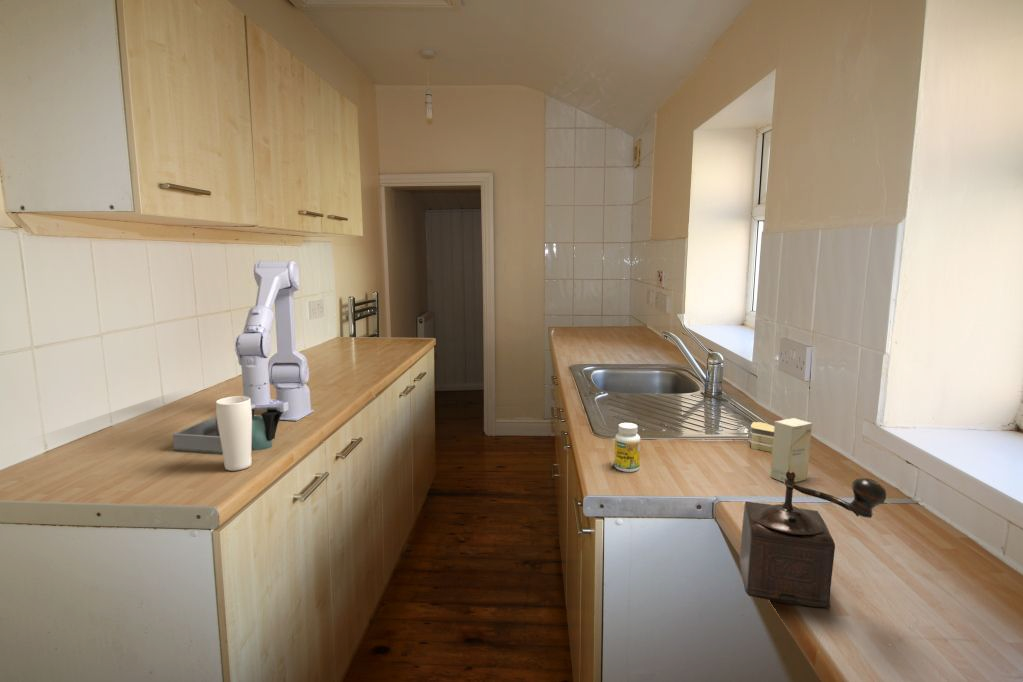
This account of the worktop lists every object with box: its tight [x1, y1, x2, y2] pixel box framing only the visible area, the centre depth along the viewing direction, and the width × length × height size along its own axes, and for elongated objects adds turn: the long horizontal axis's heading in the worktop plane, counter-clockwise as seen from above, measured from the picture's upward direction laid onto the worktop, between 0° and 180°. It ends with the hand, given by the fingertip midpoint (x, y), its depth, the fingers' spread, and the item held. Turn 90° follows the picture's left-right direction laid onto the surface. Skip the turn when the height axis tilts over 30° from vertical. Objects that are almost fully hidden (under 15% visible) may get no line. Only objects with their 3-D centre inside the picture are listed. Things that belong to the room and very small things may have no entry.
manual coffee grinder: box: [739, 471, 887, 608], centre depth 76 cm, size 16×11×18 cm
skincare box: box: [770, 417, 813, 483], centre depth 114 cm, size 6×4×12 cm
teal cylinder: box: [252, 414, 273, 451], centre depth 131 cm, size 5×5×7 cm
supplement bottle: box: [614, 422, 641, 473], centre depth 119 cm, size 5×5×10 cm
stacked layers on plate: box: [749, 421, 775, 454], centre depth 132 cm, size 10×9×6 cm
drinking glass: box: [215, 395, 253, 472], centre depth 118 cm, size 7×7×15 cm
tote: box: [172, 414, 261, 455], centre depth 136 cm, size 17×13×4 cm
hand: (260, 438), depth 132 cm, fingers open, 5 cm apart
